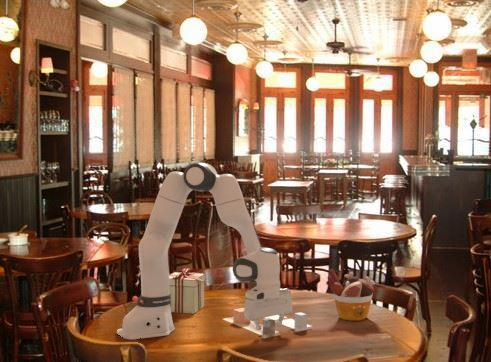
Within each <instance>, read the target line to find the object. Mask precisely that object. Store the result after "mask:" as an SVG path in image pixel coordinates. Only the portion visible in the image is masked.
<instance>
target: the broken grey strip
mask: <svg viewBox="0 0 491 362" xmlns="http://www.w3.org/2000/svg"><path fill="white" fill-rule="evenodd" d="M307 316H308V315H307V313H304V312H301V311H299V312H295V313H294V319H293V318H288V316H285V317H284V319H283V321H282V326H285V327H288V328H290V331H291V332H293V333H294V332H295V333H297V332H302V331H308V330H312V329H313V325H311V324H310V325H309V324H308V323H307V322H308V317H307ZM267 318H270V319H273V320H275V323H276V321H278V319H279V315H275V316H269V317H264V318H263V319H267Z"/></svg>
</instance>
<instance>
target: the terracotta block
mask: <svg viewBox="0 0 491 362" xmlns="http://www.w3.org/2000/svg"><path fill="white" fill-rule="evenodd" d="M232 313H233V314H232V315H233V316H232V317H233V322H235V323H238V324H245V323H251V321H252V320H249V319H246V318H245V316H244V307H239V308H234V309H233V310H232Z"/></svg>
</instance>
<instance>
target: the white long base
mask: <svg viewBox="0 0 491 362" xmlns="http://www.w3.org/2000/svg"><path fill="white" fill-rule="evenodd" d="M222 320H224V321H225V322H228V323H231V324H233V325H236V326H238V327H241V328H243V329H244V330H247V331H250V332H252V333H255V334H257V335H258V336H257V337H258V338H261V339H267V338H272V337H273V338H274V337H279V336H282V334H281V331H278V330H276V322H275V321H276V320H273V319H270V318H267V319H266V318H262V324H261V325H262V327H261V328H262V329H261V330H256V325H255V323H254V321H253V320H251V323H245V324H238V323H235V322H233V316H231V317H226V318H222Z"/></svg>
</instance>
